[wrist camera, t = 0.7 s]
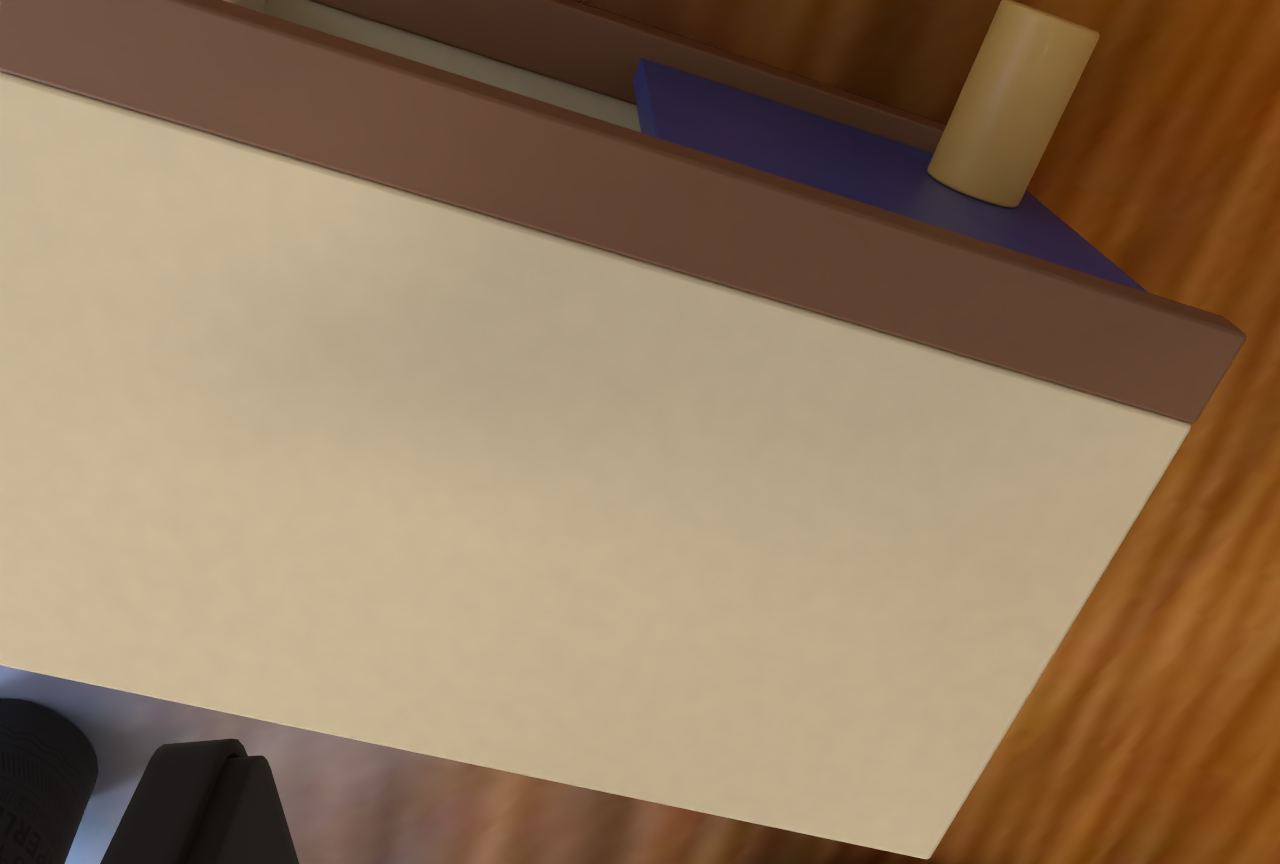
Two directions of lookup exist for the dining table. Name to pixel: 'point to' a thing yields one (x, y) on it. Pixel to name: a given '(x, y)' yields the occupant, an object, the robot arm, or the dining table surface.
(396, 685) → the box with blue drawer
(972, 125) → the sliding door
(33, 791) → the drinking cup
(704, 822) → the dining table surface
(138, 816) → the robot arm
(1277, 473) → the dining table surface
